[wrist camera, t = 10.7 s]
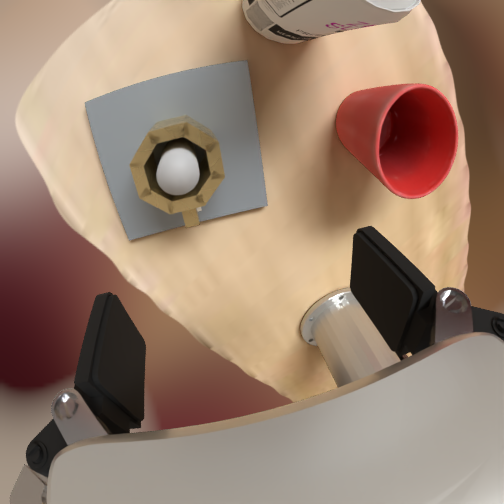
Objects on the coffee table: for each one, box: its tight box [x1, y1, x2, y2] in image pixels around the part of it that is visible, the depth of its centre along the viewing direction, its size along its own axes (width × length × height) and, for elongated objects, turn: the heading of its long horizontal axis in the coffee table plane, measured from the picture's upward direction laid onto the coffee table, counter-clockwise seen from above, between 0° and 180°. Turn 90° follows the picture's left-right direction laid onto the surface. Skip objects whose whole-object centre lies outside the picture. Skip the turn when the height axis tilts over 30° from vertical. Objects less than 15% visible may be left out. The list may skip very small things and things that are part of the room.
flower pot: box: [336, 84, 458, 199], centre depth 23 cm, size 11×11×10 cm
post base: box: [85, 60, 268, 240], centre depth 21 cm, size 15×15×8 cm
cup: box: [129, 115, 225, 228], centre depth 22 cm, size 9×7×6 cm
